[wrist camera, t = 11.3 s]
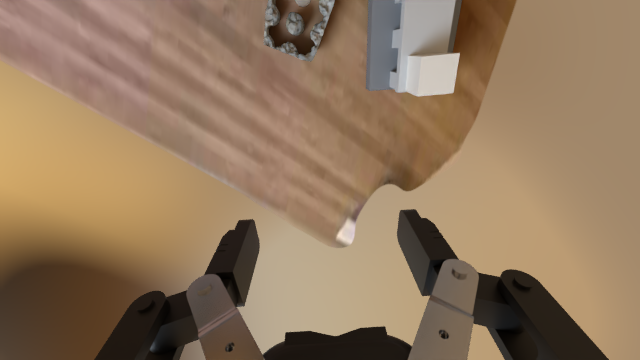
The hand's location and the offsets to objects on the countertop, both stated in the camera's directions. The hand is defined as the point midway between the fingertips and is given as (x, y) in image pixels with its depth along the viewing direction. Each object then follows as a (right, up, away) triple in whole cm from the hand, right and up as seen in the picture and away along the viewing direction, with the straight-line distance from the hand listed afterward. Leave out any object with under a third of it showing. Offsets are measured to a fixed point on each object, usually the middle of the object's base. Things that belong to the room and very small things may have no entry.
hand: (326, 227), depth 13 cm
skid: (+12, +21, +18) cm, 30 cm away
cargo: (+12, +16, +16) cm, 26 cm away
